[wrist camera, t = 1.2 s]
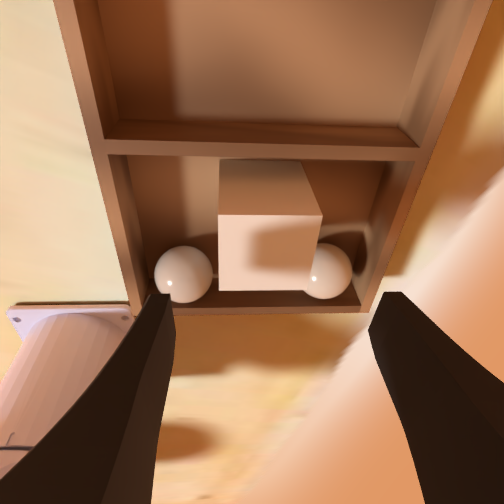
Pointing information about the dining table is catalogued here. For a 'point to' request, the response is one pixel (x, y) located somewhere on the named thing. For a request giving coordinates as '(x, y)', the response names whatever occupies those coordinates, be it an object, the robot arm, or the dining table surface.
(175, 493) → the dining table surface
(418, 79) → the caddy
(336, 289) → the pebble
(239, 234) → the white block
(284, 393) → the dining table surface
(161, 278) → the pebble
